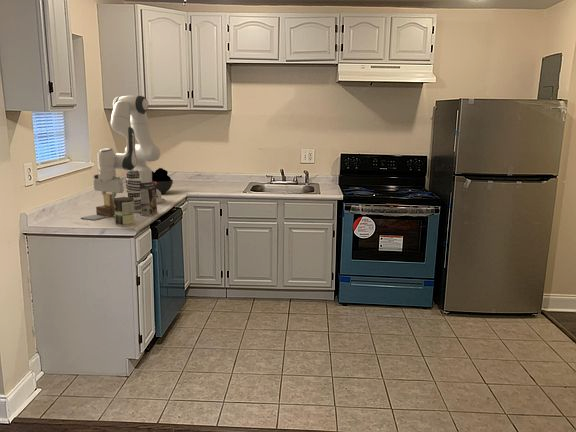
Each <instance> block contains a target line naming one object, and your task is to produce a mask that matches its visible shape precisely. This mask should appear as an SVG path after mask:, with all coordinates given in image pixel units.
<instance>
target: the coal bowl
mask: <svg viewBox="0 0 576 432" xmlns="http://www.w3.org/2000/svg"><path fill="white" fill-rule="evenodd" d="M151 171H152V182H157V184H156V185H155V184H154V187H156V189H157V190H159V191H160V192H161V194H164V193H167V192H168V191H169V190H170V189H171V188H172V186H173V183H174V180H173V178H171V176H169V175H168V170H166V169H164V168H163V167H158V168H157V169H156V170H155V171H153V170H151Z"/></svg>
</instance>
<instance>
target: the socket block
mask: <svg viewBox="0 0 576 432" xmlns="http://www.w3.org/2000/svg"><path fill="white" fill-rule="evenodd" d="M95 208H96V215H101V216H107V217H106V218H108V217H109V218H111V217H115V207H104V204H103V205H99V206H96V207H95Z"/></svg>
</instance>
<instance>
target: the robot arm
mask: <svg viewBox="0 0 576 432" xmlns="http://www.w3.org/2000/svg"><path fill="white" fill-rule="evenodd" d="M112 107H113V109H112V112H111V118H110V127H111V129H112V130H113V131H114V132H115V133H117V134H119V135H120V136H123V137H124V138H125V140H126V146H125V148H124V152H115V151H114V149H113V148H112V147H104V148H101V149H100V150H99V153H98V162H99V163H98V165H99V173H96V174H94V175H93V189H94V190H95V191H96V192H101V195H102V196H103V197H104V194H106V193H112V194H113V196H112V197H111V200H114V199H115V198H116V196H117V194H122V193H123V194H124V191H125V190H124V184H123V179H122V177H120V176H117V174H116V173H117V171H116V170H125V171H129V170H137V171H138V172H139V175H140V181H141V183H140V184H141V185H140V187H141V188H140V190H141V189H142V188H145V187H154V184H155V185H156V184H157V182H152V171H153V170H152V169H151V168H150V167H149V166H148V165H147V163H146V162H154V161H155V162H156V161H158V160H159V159H160V157H161V149H160V148H159V146H157V145H156V143H154V141H153V139H152V137H151V134H150V128H149V127H150V126H149V119H148V114H147V112H148V108H149V101H148V99H147V98H146V97H145V96H144V95H132V94H131V95H120V96H116V97H114V99H113V101H112ZM136 141H137V143H136ZM156 195H157V204H159V203H161V202H165V201H166V198H164V197H162V193H161V192H160V191H159V190H157V189H156ZM140 196H141V192H140Z"/></svg>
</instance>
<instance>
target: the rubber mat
mask: <svg viewBox="0 0 576 432" xmlns="http://www.w3.org/2000/svg"><path fill="white" fill-rule="evenodd" d="M106 218H108V217H107V216H101V215H97V214H91V215H87V216H81V217H80V219H81V220H87V221H94V222H95V221H98V220H102V219H106Z"/></svg>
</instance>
